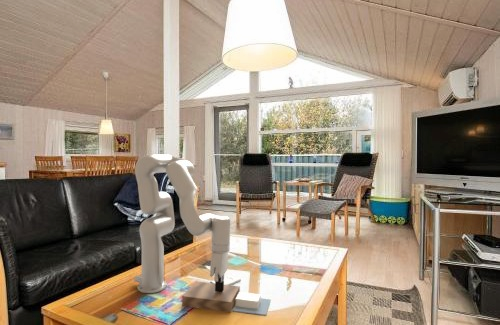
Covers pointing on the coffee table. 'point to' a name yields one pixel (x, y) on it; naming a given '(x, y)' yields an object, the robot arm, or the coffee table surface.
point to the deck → (210, 297)
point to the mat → (260, 311)
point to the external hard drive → (229, 280)
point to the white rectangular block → (248, 300)
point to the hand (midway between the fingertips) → (219, 290)
